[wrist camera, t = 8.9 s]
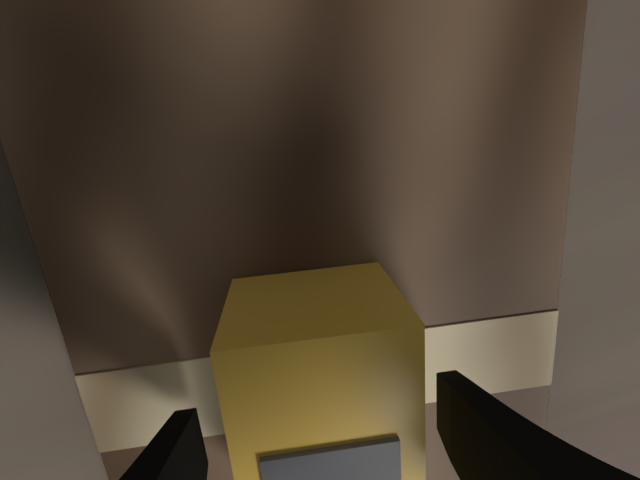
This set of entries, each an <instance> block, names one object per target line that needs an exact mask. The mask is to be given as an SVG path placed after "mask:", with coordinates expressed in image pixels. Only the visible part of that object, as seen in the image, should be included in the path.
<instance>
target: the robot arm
mask: <svg viewBox="0 0 640 480" xmlns="http://www.w3.org/2000/svg"><path fill="white" fill-rule="evenodd" d="M436 403H437V430H438V433H439V435H440V438H441V440H442V443H443V445H444V448H445V450H446V452H447V455H448V457H449V460H450V462H451V464H452V466H453V467H454V469H455V471H456V473H457V475H458V477H459V479H460V480H640V478H638V477H635V476H633V475H631V474H629V473H626V472H624V471H622V470H620V469H618V468H615V467H613V466H611V465H609V464H607V463H605V462H603V461H601V460H599V459H597V458H595V457H593V456H591V455H589V454H587V453H586V452H584V451H582V450H580V449H578V448H576V447H574V446H572V445H570V444H568V443H567V442H565V441H563V440H561V439H560V438H558V437H556V436H554V435H553V434H551V433H549V432H548V431H546V430H544V429H543V428H541V427H539V426H538V425H536V424H534V423H533V422H531V421H530V420H528V419H527V418H525V417H523V416H522V415H520V414H519V413H517V412H516V411H514V410H513V409H511V408H510V407H508V406H507V405H505V404H504V403H502V402H501V401H499V400H498V399H497V398H495V397H494V396H492V395H491V394H489V393H488V392H487V391H485V390H484V389H482V388H481V387H479V386H478V385H477V384H475V383H474V382H472V381H471V380H470V379H468V378H467V377H465V376H464V375H462V374H461V373H460V372H458V371H457V370H452V371H445V372H439V373H436ZM208 464H209V463H208V458H207V454H206V449H205V445H204V440H203V436H202V431H201V427H200V422H199V418H198V413H197V409H196V408H191V409H184V410H177V411H174V413H173V414H172V415H171V416H170V417H169V419H168V420H167V421H166V422H165V424H164V425H163V426H162V427H161V429H160V430H159V431H158V432H157V434H156V435H155V436H154V437H153V439H152V440H151V441H150V442H149V444H148V445H147V446H146V447H145V449H144V450H143V451H142V452H141V454H140V455H139V456H138V457H137V458H136V460H135V461H134V462H133V463H132V464H131V466H130V467H129V468H128V469H127V471H126V472H125V473H124V474H123V475H122V476H121V478H120V479H119V480H207V473H208Z"/></svg>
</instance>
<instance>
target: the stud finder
mask: <svg viewBox="0 0 640 480" xmlns="http://www.w3.org/2000/svg"><path fill="white" fill-rule="evenodd" d="M210 357H211V363H212V368H213V373H214V378H215V383H216V389H217V394H218V399H219V404H220V410H221V415H222V420H223V425H224V430H225V436H226V441H227V446H228V451H229V457H230V462H231V467H232V472H233V477H234V480H426V431H425V324H424V323H423V322H422V320H421V319H420V318H419V316H418V315H417V314H416V312H415V311H414V310H413V308H412V307H411V305H410V304H409V303H408V301H407V300H406V299H405V297H404V296H403V295H402V293H401V292H400V291H399V289H398V288H397V287H396V285H395V284H394V283H393V281H392V280H391V279H390V277H389V276H388V275H387V273H386V272H385V271H384V269H383V268H382V267H381V265H380V264H379V263H378V262H374V263H365V264H356V265H348V266H339V267H331V268H322V269H313V270H305V271H296V272H288V273H279V274H270V275H262V276H253V277H245V278H236V279H232V282H231V285H230V289H229V292H228V295H227V298H226V301H225V305H224V308H223V311H222V314H221V318H220V321H219V324H218V327H217V330H216V334H215V337H214V340H213V343H212V346H211V350H210Z"/></svg>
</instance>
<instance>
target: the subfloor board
mask: <svg viewBox="0 0 640 480" xmlns="http://www.w3.org/2000/svg"><path fill="white" fill-rule="evenodd" d="M586 9H587V0H0V141H1V144H2V147H3V150H4V153H5V156H6V159H7V162H8V166H9V169H10V172H11V175H12V178H13V181H14V184H15V187H16V191H17V194H18V197H19V200H20V203H21V206H22V209H23V212H24V216H25V219H26V222H27V225H28V228H29V231H30V234H31V237H32V241H33V244H34V247H35V250H36V253H37V256H38V259H39V262H40V266H41V269H42V272H43V275H44V278H45V281H46V284H47V287H48V291H49V294H50V297H51V300H52V303H53V306H54V309H55V312H56V316H57V319H58V322H59V325H60V328H61V331H62V334H63V337H64V341H65V344H66V347H67V350H68V353H69V356H70V359H71V362H72V366H73V369H74V372H75V380H76V383H77V386H78V389H79V392H80V395H81V399H82V402H83V405H84V408H85V411H86V414H87V417H88V420H89V423H90V427H91V430H92V433H93V436H94V439H95V442H96V445H97V448H98V451H99V453H101V456H102V459H103V462H104V466H105V469H106V472H107V475H108V478H109V480H119V479H120V478H121V476H122V475H123V474H124V473H125V472H126V471H127V469H128V468H129V467H130V466H131V464H132V463H133V462H134V461H135V460H136V458H137V457H138V456H139V455H140V454H141V452H142V451H143V450H144V449H145V447H146V446H147V445H148V444H149V442H150V441H151V440H152V439H153V437H154V436H155V435H156V434H157V432H158V431H159V430H160V429H161V427H162V426H163V425H164V424H165V422H166V421H167V420H168V419H169V417H170V416H171V415H172V414H173V413H174V411H177V410H184V409H191V408H196V409H197V413H198V418H199V422H200V427H201V431H202V436H203V440H204V445H205V449H206V454H207V458H208V463H209V464H208V473H207V480H234V477H233V472H232V467H231V462H230V457H229V451H228V446H227V441H226V436H225V430H224V425H223V420H222V415H221V410H220V404H219V399H218V394H217V389H216V383H215V378H214V373H213V368H212V363H211V357H210V350H211V346H212V343H213V340H214V337H215V334H216V330H217V327H218V324H219V321H220V318H221V314H222V311H223V308H224V305H225V301H226V298H227V295H228V292H229V289H230V285H231V282H232V279H236V278H245V277H253V276H262V275H270V274H279V273H288V272H296V271H305V270H313V269H322V268H331V267H339V266H348V265H356V264H365V263H374V262H378V263H379V264H380V265H381V267H382V268H383V269H384V271H385V272H386V273H387V275H388V276H389V277H390V279H391V280H392V281H393V283H394V284H395V285H396V287H397V288H398V289H399V291H400V292H401V293H402V295H403V296H404V297H405V299H406V300H407V301H408V303H409V304H410V305H411V307H412V308H413V310H414V311H415V312H416V314H417V315H418V316H419V318H420V319H421V320H422V322H423V323H424V324H425V431H426V480H460V479H459V477H458V475H457V473H456V471H455V469H454V467H453V466H452V464H451V462H450V460H449V457H448V455H447V452H446V450H445V448H444V445H443V443H442V440H441V438H440V435H439V433H438V430H437V403H436V373H439V372H445V371H452V370H457V371H458V372H460V373H461V374H462V375H464V376H465V377H467V378H468V379H470V380H471V381H472V382H474V383H475V384H477V385H478V386H479V387H481V388H482V389H484V390H485V391H487V392H488V393H489V394H491V395H492V396H494V397H495V398H497V399H498V400H499V401H501V402H502V403H504V404H505V405H507V406H508V407H510V408H511V409H513V410H514V411H516V412H517V413H519V414H520V415H522V416H523V417H525V418H527V419H528V420H530V421H531V422H533V423H534V424H536V425H538V426H539V427H541V428H543V429H544V430H546V421H547V410H548V400H549V390H550V385H551V384H552V374H553V364H554V353H555V343H556V333H557V323H558V313H559V310H557V307H558V297H559V287H560V277H561V266H562V256H563V246H564V235H565V225H566V215H567V204H568V194H569V184H570V174H571V163H572V153H573V143H574V132H575V122H576V112H577V101H578V91H579V81H580V71H581V60H582V50H583V40H584V29H585V19H586Z"/></svg>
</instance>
